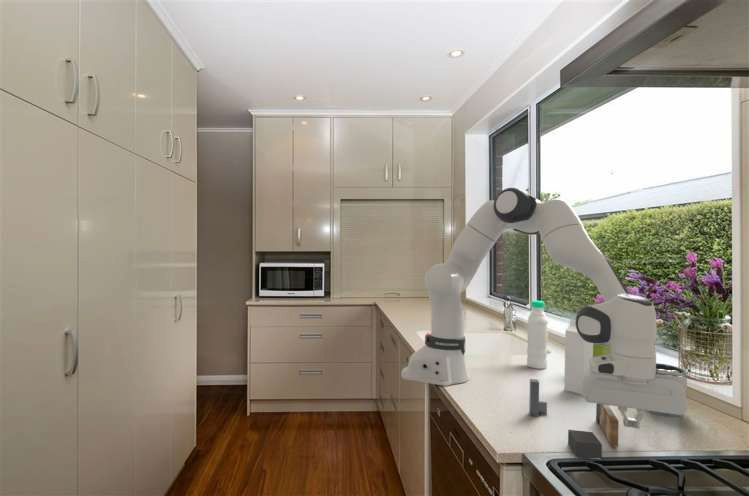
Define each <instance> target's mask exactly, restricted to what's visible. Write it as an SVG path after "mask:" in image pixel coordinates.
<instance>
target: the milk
mask: <svg viewBox="0 0 749 496" xmlns="http://www.w3.org/2000/svg"><path fill="white" fill-rule="evenodd" d="M575 321H576V319H570V320H569V325H568V326H567V328H565V331H564V332H565V333H564V334H565V335H564V336H565V338H564V379H563V380H564V382H563V383H564V386H563V388H564V389H563V390H564V391H568V392H571V393H574V394H578V395H582V388H583V380H584V376H585V373H586V371H587V370H588V369H589V368H590V366H589V359H590V358H592V357H593V343H589V342H587V341H585V340H584V339H582V337H581V336H580V335H579V333H578V332H577V329H576V323H575ZM582 396H583V395H582Z"/></svg>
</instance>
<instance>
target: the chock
mask: <svg viewBox="0 0 749 496" xmlns="http://www.w3.org/2000/svg"><path fill="white" fill-rule="evenodd" d="M567 433H568V435H567V445H568V447H569V448H570V450H571V452H572V454H573V455H574V457H575V458H576V457H577V459H578V458H579V459H585V458H601V459H602V460H603V444H602V443H601V441H600V440H599V439H598V438H597V436H596V434H594V432H593V431H585V430H574V429H568V432H567Z"/></svg>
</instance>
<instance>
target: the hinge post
mask: <svg viewBox="0 0 749 496" xmlns="http://www.w3.org/2000/svg"><path fill="white" fill-rule="evenodd" d="M595 405H596V406H595V415H596V416H595V422H596V423H597V424H600V422H599V421H600V404H597V403H595Z"/></svg>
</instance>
